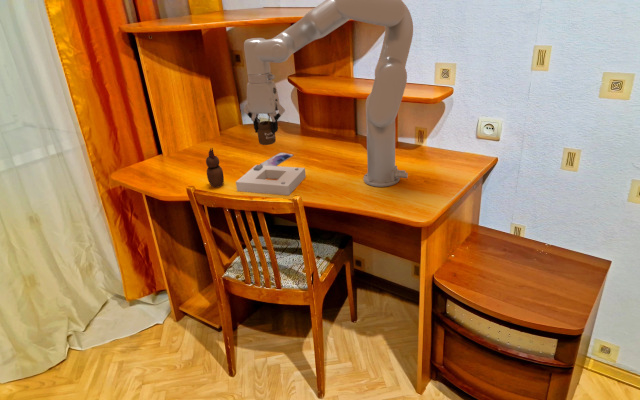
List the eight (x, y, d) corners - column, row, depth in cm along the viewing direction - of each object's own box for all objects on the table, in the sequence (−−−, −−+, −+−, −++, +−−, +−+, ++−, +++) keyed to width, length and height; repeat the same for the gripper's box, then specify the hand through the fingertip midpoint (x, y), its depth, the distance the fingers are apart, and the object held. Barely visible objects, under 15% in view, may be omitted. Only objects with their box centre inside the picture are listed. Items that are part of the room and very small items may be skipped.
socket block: (305, 176, 168) (304, 166, 166) (289, 195, 154) (287, 183, 152) (257, 173, 174) (255, 162, 172) (237, 190, 161) (235, 179, 159)
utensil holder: (255, 143, 157) (250, 109, 151) (267, 138, 161) (263, 105, 156) (267, 146, 153) (263, 111, 148) (280, 141, 158) (276, 107, 152)
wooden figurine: (226, 187, 164) (218, 148, 158) (209, 190, 163) (202, 151, 156) (224, 180, 170) (217, 142, 164) (208, 183, 169) (200, 145, 162)
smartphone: (294, 154, 189) (272, 167, 178) (294, 156, 189) (273, 169, 178) (280, 152, 192) (258, 164, 181) (280, 153, 193) (258, 166, 182)
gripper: (288, 76, 148) (293, 129, 156) (241, 76, 153) (249, 127, 161) (279, 81, 142) (285, 136, 150) (231, 80, 147) (239, 134, 155)
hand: (266, 131), depth 155 cm, fingers closed on utensil holder, 5 cm apart
